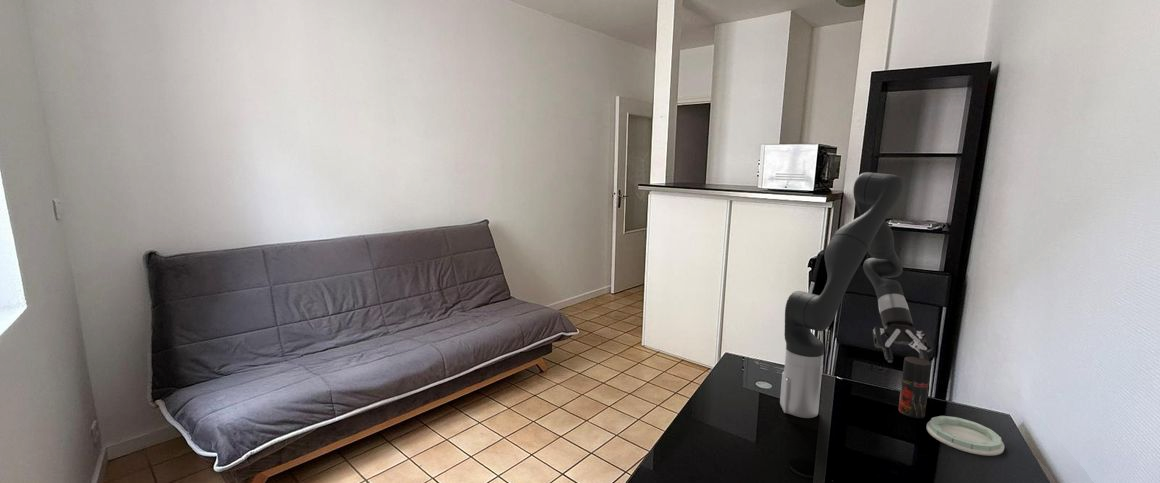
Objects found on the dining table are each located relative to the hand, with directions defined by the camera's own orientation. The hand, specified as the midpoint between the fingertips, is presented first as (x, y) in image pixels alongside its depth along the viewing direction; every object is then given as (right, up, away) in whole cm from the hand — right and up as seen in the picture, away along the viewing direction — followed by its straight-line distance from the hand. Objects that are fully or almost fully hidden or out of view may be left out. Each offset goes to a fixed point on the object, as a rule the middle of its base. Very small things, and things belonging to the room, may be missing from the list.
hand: (908, 363), depth 131 cm
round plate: (+3, -15, -15) cm, 21 cm away
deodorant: (-1, -13, -3) cm, 13 cm away
